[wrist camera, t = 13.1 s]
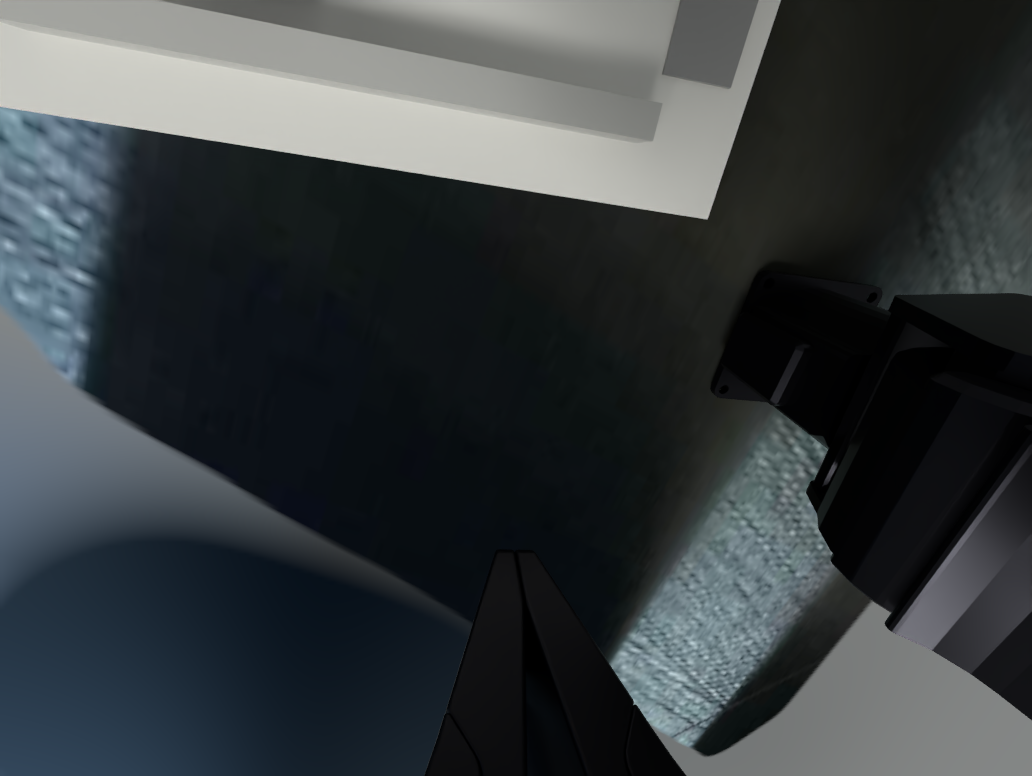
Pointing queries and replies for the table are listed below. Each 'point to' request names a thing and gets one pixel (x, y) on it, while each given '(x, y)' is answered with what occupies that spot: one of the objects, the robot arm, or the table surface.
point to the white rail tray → (416, 84)
